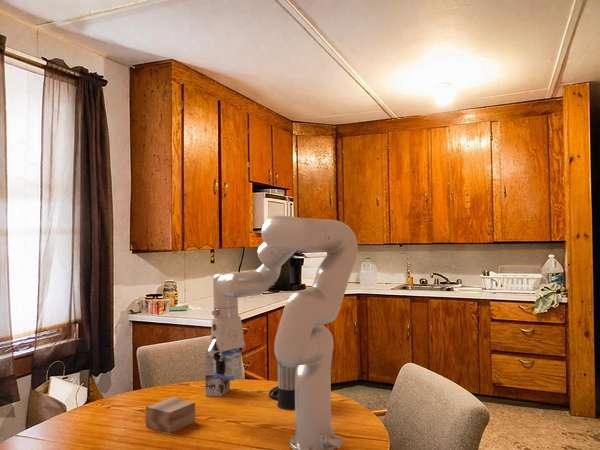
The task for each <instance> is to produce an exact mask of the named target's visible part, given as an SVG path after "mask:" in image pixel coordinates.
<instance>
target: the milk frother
mask: <svg viewBox="0 0 600 450" xmlns="http://www.w3.org/2000/svg"><path fill="white" fill-rule="evenodd" d="M276 363H277V385H276V386H274V387H273V388H272V389H270V390H269V391H268V396H269V397H270V398H271V399H274V400H277V403H276V406H277V407H278V408H280V409H283V410H295V373H296V368H297V367H292V368H289V367H285V366H283V365H281V364H280V363H279V362H278V360H277V359H276Z"/></svg>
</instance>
